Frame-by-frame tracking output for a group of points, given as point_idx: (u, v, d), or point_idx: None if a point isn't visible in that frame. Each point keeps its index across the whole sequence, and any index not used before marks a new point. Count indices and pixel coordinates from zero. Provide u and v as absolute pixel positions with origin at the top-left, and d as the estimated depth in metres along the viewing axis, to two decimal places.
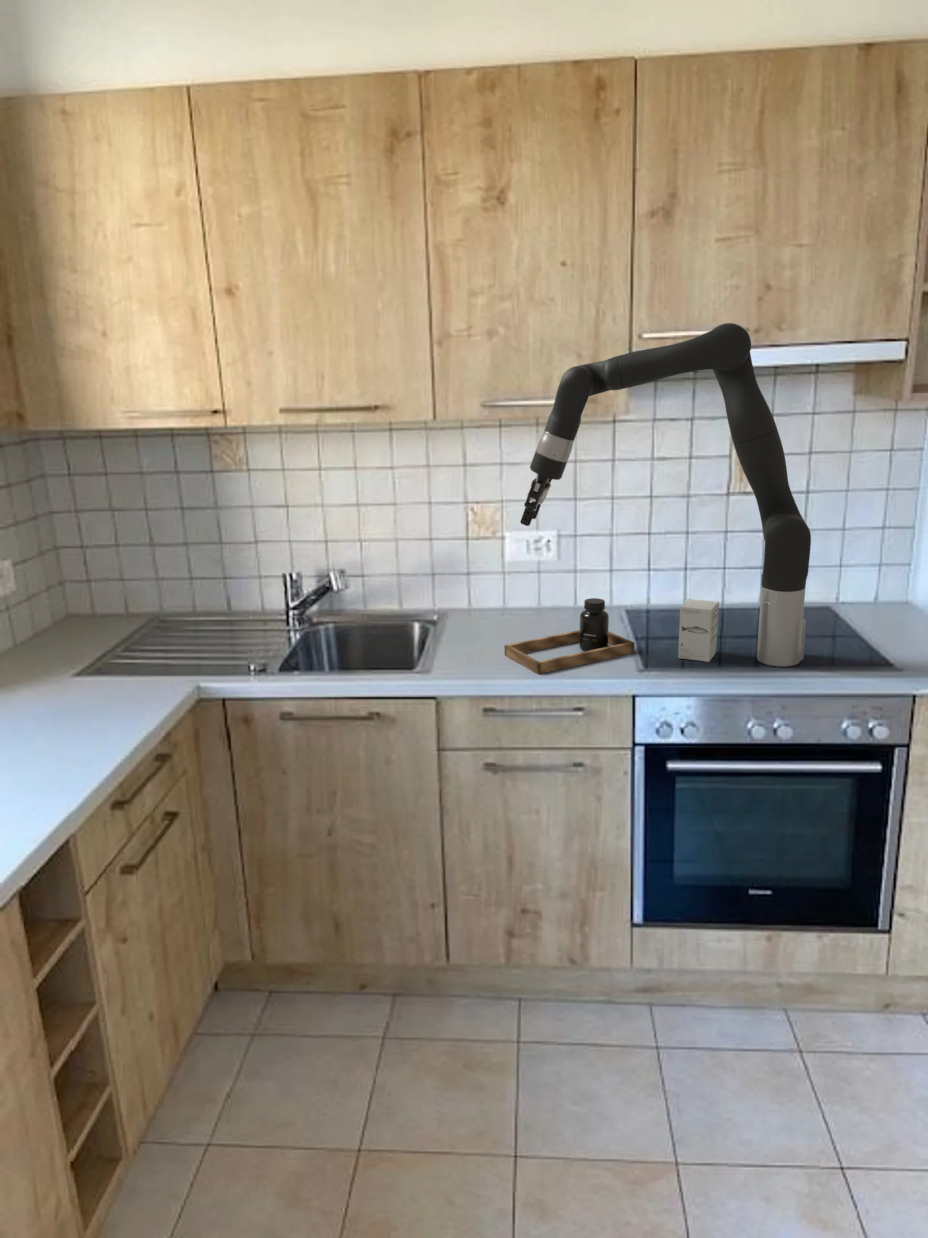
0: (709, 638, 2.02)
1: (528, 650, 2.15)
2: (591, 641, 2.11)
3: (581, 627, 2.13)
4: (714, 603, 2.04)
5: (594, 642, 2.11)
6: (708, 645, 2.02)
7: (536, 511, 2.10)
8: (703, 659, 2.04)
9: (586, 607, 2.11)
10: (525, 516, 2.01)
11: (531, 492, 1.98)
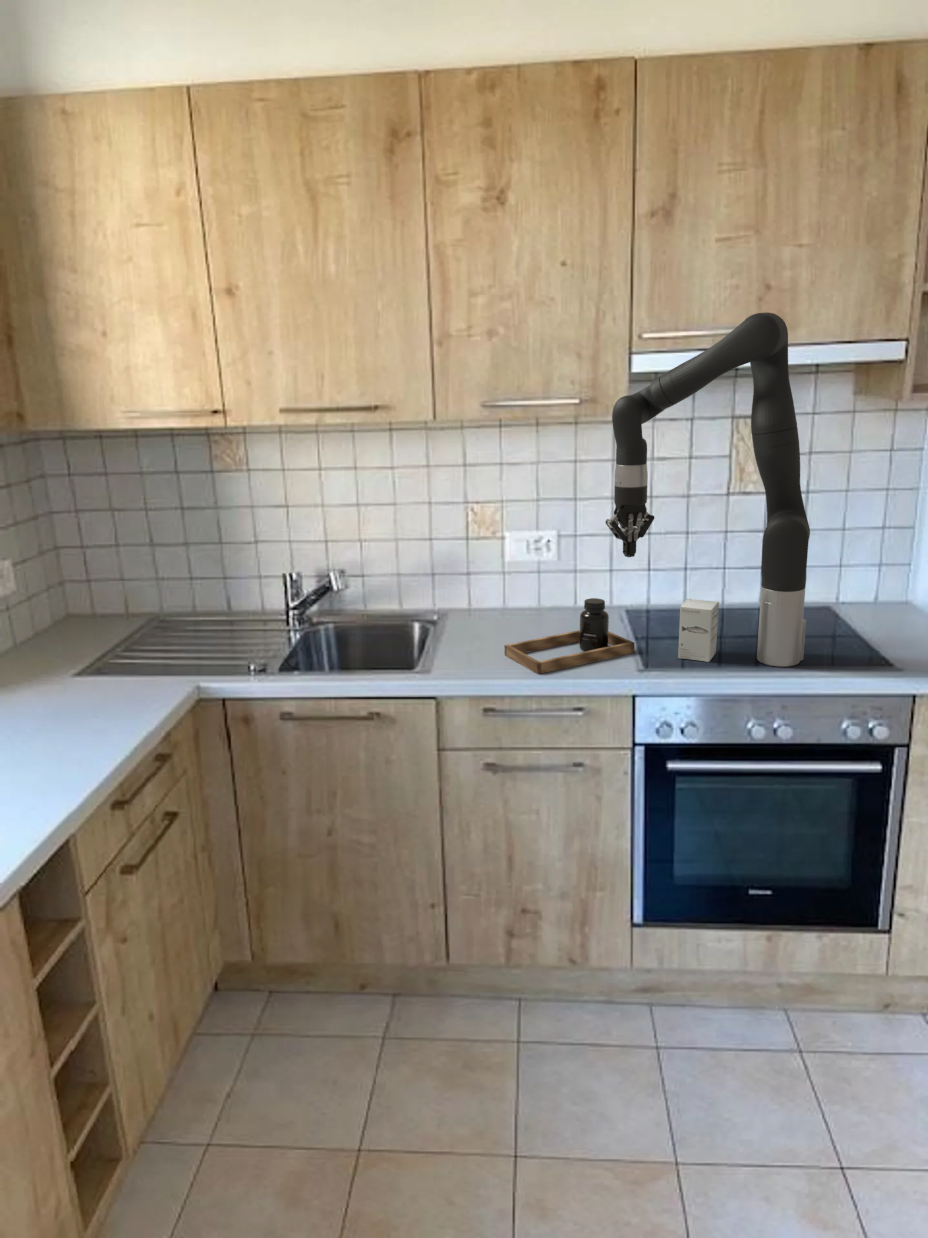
0: (709, 638, 2.02)
1: (528, 650, 2.15)
2: (591, 641, 2.11)
3: (581, 627, 2.13)
4: (714, 603, 2.04)
5: (594, 642, 2.11)
6: (708, 645, 2.02)
7: None
8: (703, 659, 2.04)
9: (586, 607, 2.11)
10: (623, 548, 2.12)
11: (611, 529, 2.10)
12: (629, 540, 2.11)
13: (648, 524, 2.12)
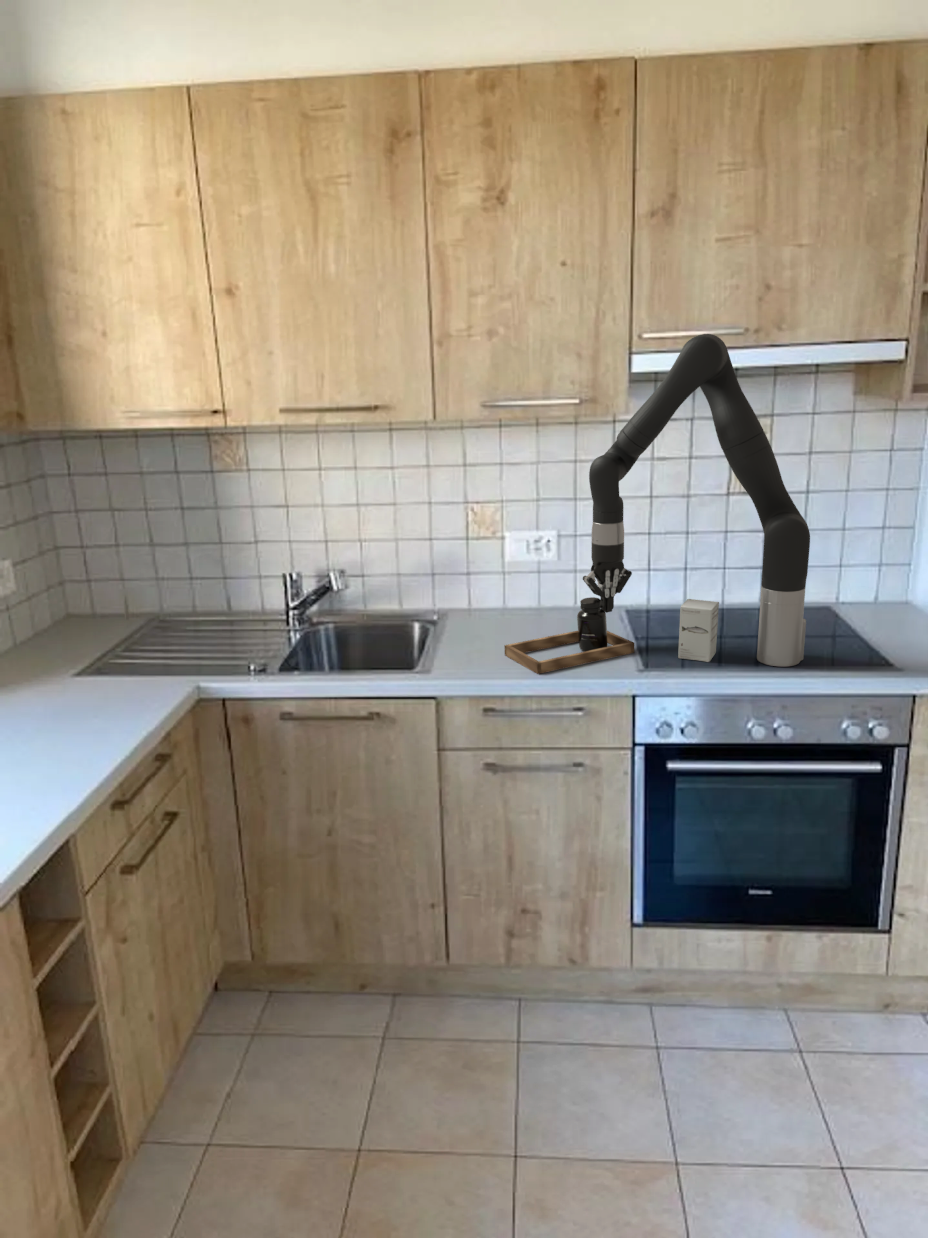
0: (709, 638, 2.02)
1: (528, 650, 2.15)
2: (590, 641, 2.11)
3: (579, 627, 2.12)
4: (714, 603, 2.04)
5: (593, 642, 2.11)
6: (708, 645, 2.02)
7: None
8: (703, 659, 2.04)
9: (582, 607, 2.11)
10: (601, 603, 2.14)
11: (588, 585, 2.11)
12: (606, 596, 2.12)
13: (625, 580, 2.13)
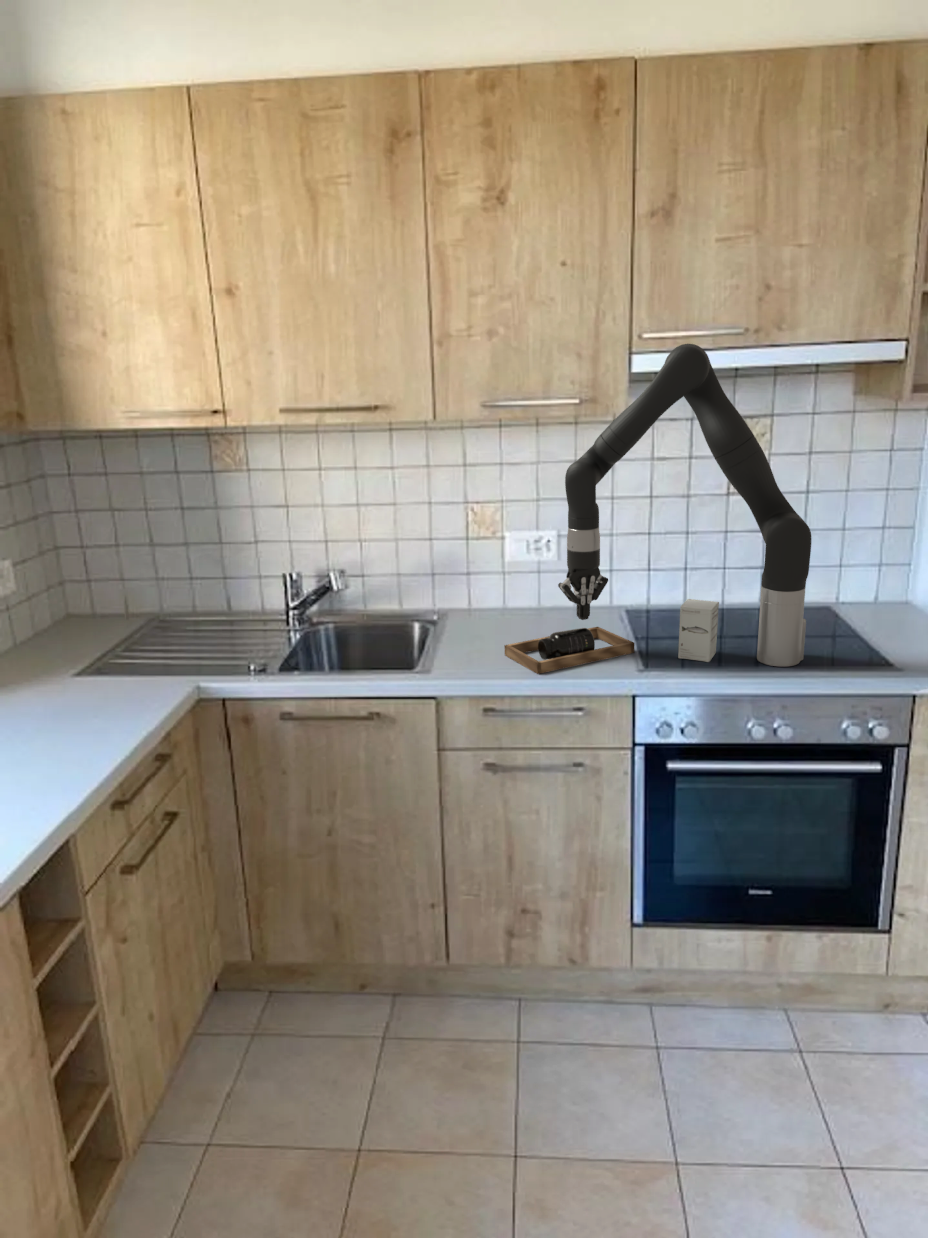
0: (709, 638, 2.02)
1: (528, 650, 2.15)
2: None
3: None
4: (714, 603, 2.04)
5: None
6: (708, 645, 2.02)
7: None
8: (703, 659, 2.04)
9: None
10: (577, 611, 2.11)
11: (564, 592, 2.08)
12: (582, 603, 2.09)
13: (602, 587, 2.10)
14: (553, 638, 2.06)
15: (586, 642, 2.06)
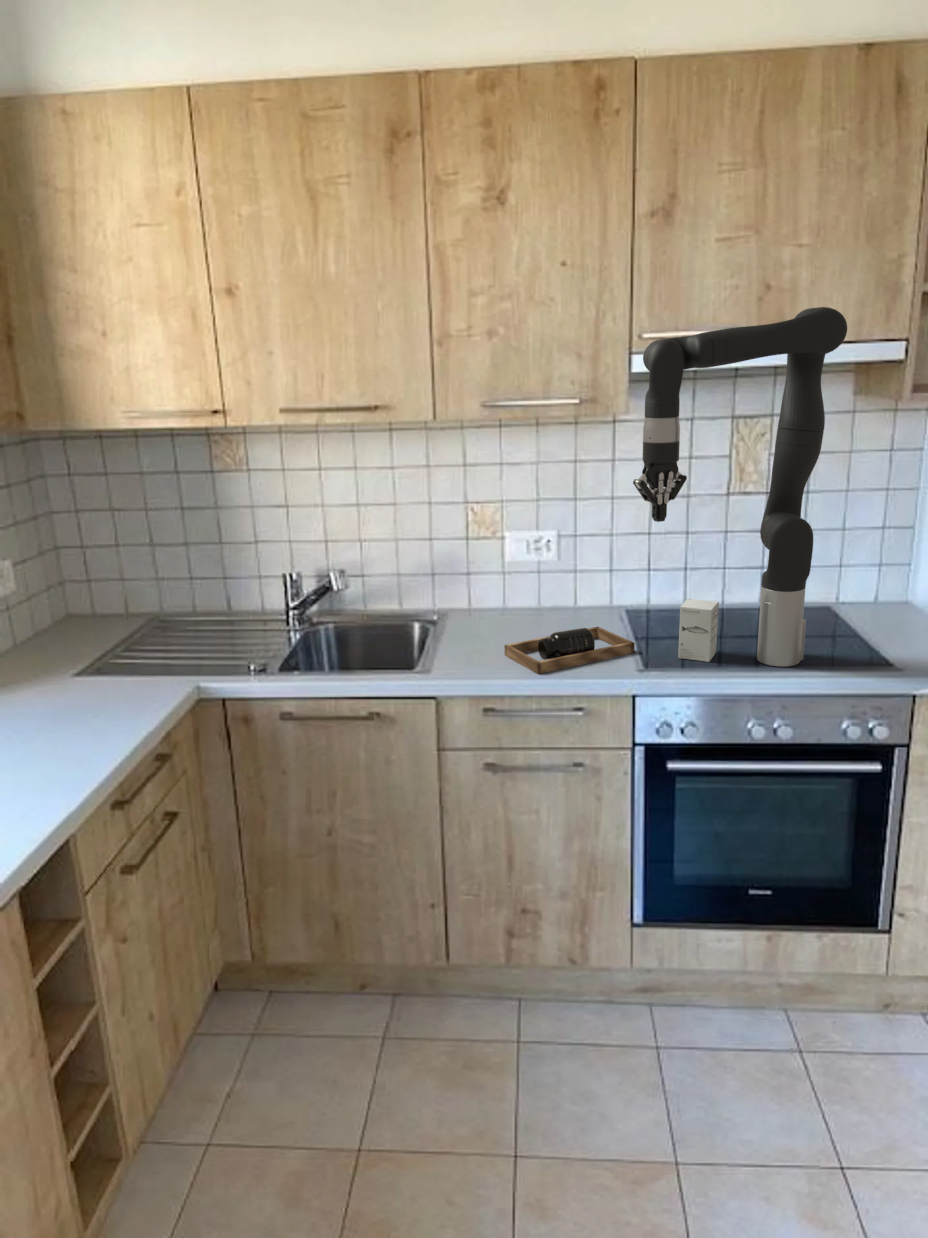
0: (709, 638, 2.02)
1: (528, 650, 2.15)
2: None
3: None
4: (714, 603, 2.04)
5: None
6: (708, 645, 2.02)
7: None
8: (703, 659, 2.04)
9: None
10: (653, 511, 1.92)
11: (639, 490, 1.90)
12: (659, 502, 1.90)
13: (680, 485, 1.92)
14: (553, 638, 2.06)
15: (586, 642, 2.06)
